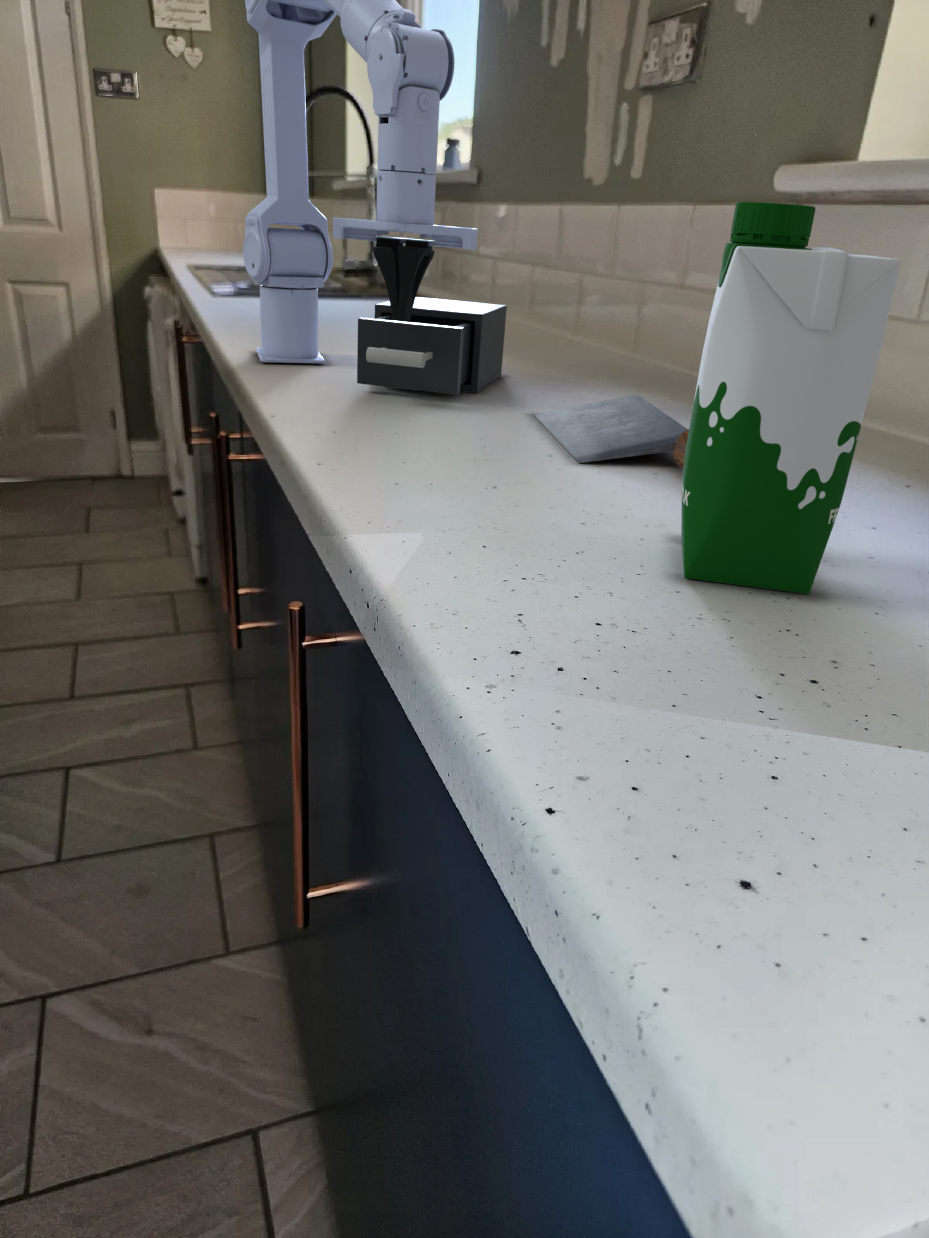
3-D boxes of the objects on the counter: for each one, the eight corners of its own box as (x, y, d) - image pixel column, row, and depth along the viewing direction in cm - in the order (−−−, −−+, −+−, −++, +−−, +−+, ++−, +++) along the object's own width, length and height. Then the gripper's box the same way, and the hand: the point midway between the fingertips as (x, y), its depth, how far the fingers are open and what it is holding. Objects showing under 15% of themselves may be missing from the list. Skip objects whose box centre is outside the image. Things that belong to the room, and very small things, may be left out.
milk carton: (666, 534, 58) (723, 203, 50) (807, 552, 57) (890, 214, 48) (668, 582, 50) (735, 199, 42) (831, 604, 49) (935, 211, 40)
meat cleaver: (532, 415, 91) (536, 375, 89) (636, 418, 92) (642, 380, 91) (632, 524, 61) (641, 468, 59) (783, 526, 62) (796, 472, 61)
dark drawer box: (445, 402, 89) (449, 333, 86) (340, 390, 91) (341, 322, 88) (483, 377, 104) (487, 318, 102) (392, 367, 107) (394, 309, 104)
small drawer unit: (476, 393, 100) (482, 314, 96) (372, 381, 102) (374, 304, 99) (501, 375, 112) (507, 305, 108) (407, 365, 114) (410, 296, 111)
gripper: (320, 166, 82) (321, 316, 88) (469, 176, 80) (459, 330, 85) (347, 170, 89) (346, 311, 94) (486, 180, 86) (476, 324, 92)
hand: (401, 320), depth 90 cm, fingers closed
